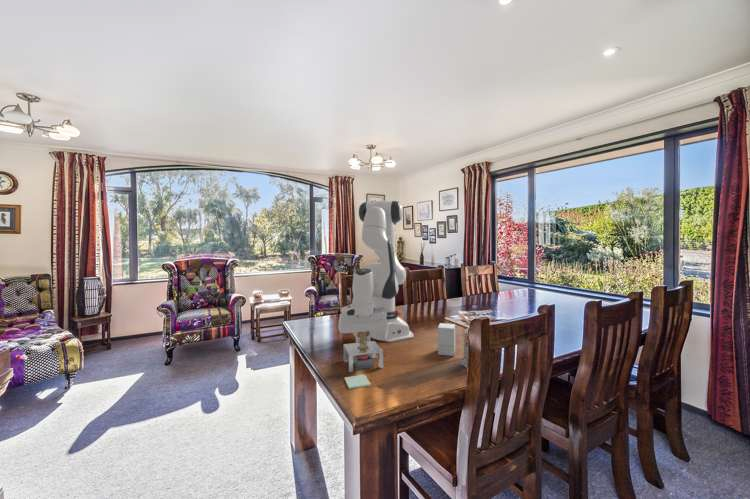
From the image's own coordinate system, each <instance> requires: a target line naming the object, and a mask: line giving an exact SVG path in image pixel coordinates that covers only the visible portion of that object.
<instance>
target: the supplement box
mask: <svg viewBox="0 0 750 499" xmlns="http://www.w3.org/2000/svg"><path fill="white" fill-rule="evenodd" d="M455 353H456V324H455V323H454V324H453V323H441V322H440V323H439V325H438V326H437V355H441V356H448V357H455Z"/></svg>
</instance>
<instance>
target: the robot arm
mask: <svg viewBox="0 0 750 499" xmlns="http://www.w3.org/2000/svg"><path fill="white" fill-rule="evenodd" d="M403 214H404V210H403V205H402V204H401V202H400V201H397V200H377V201H365V202H362V203H361V204H360V205H359V208H358V216H359V220H361V222H362V229H361V240H362V242H363V244H364V245H365V246H366V247H367V248H368V249H370V250H373V252H374V253H375V254H374V255H376V256H377V257H378V258H379V260H380V262H372V263H371V262H370V263H367V264H366V265H365V267H364V268H360V269H356V270H355V271H354V272H353V277H352V289H351V290H352V295H353V297H352V303H350V304H349V305H346V306H345V305H344V306H343V307H341V308H340V309H341V310H340V311H341V314H340V315H339V317H338V318H339V319H338V325H337V326H338V327H337V328H338V332H340V334H353V336H354V337H355V343H360V336H358V334H359V333H360V332H366V331H367V332H368V335H367V342H370V341H371V339H373V340H375V341H377V340H378V341H383V342H387V343H391V342H392V343H393V342H397V341H402V340H403V341H404V340H408V339H409V340H410V339H413V338H414V333H413V332H412V331H411V330H410V327H409V324H408V323H407V322H406V321H405V320H403V319H402V318H401V317H399V316H402V314H403V313H402V312H401V311H399V310H397V309H396V296H397V295H398V294H399V285H400V286H401V285H402V284H403V283H405V281H406V278H407V271H406V269H405V267H403V265H402V264H401V262H400V261H399V259H398V257H397V253H396V230H395V225H397V223H399V222H400V221H401V220H402V217H403Z"/></svg>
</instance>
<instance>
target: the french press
mask: <svg viewBox="0 0 750 499" xmlns="http://www.w3.org/2000/svg"><path fill="white" fill-rule="evenodd" d="M471 308H472V309H477V305H472V306H471ZM469 328H470V327H468V328H465V329H464V330H463V334H462V335H461V337H463V336H464V337H468V329H469ZM468 339H469V338H465V339H464V343H461V345H462V347H463V360H462V361H461V362H462V364H461V366H463V365H464V366H465V368H467V359H468ZM464 366H463V367H464ZM467 369H468V368H467Z"/></svg>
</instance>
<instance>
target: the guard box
mask: <svg viewBox="0 0 750 499" xmlns="http://www.w3.org/2000/svg"><path fill="white" fill-rule="evenodd" d="M342 347H343V349H342V353H343V362H344V363H347V362H348V372H349V373H353V372H354V366H355V368H356V370H357V371H358V370H366V369H372V368H375V366H374V365H375V359H376V358H377V357H378V368H379V369H383V368H384V349H382V348H381V347H380V346H379V344H378V343H377V342H376V340H372V341H371V340H370V342H367V350H361V351H360V342H359V343H356V342H353V343H351V342H350V343H344V344H343V346H342ZM364 354H369V359H364V360H359V359H358V355H364ZM376 354H378V356H376Z"/></svg>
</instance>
